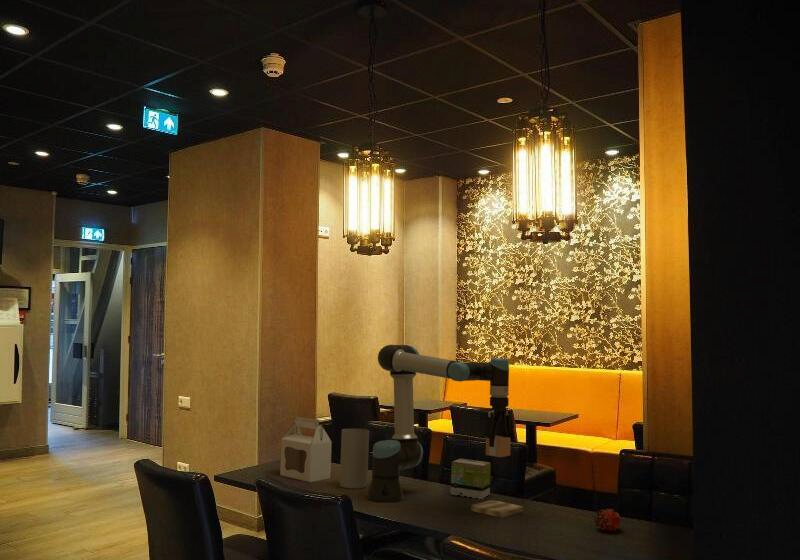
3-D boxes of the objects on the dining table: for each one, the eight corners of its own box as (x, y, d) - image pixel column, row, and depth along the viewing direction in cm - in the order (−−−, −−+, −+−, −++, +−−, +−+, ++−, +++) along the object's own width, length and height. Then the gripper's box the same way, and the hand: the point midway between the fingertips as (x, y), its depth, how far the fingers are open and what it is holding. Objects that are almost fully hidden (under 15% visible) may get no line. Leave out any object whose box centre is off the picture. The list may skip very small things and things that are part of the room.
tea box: (449, 495, 293) (450, 460, 294) (458, 491, 302) (459, 457, 303) (482, 500, 286) (483, 464, 287) (490, 495, 295) (491, 461, 296)
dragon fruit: (595, 537, 240) (614, 537, 247) (613, 527, 236) (632, 527, 243) (585, 514, 245) (603, 514, 252) (603, 504, 241) (621, 504, 248)
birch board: (470, 510, 267) (470, 505, 267) (492, 504, 278) (492, 499, 278) (502, 517, 257) (502, 512, 257) (523, 511, 268) (523, 506, 268)
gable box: (279, 475, 326) (282, 416, 329) (300, 471, 336) (303, 415, 339) (309, 482, 311) (312, 421, 314) (330, 478, 321) (333, 419, 324)
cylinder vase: (366, 489, 299) (368, 432, 302) (338, 488, 300) (340, 431, 302) (368, 483, 312) (369, 429, 314) (341, 482, 312) (343, 428, 315)
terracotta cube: (485, 454, 269) (486, 437, 270) (495, 453, 275) (496, 435, 275) (500, 457, 265) (500, 439, 265) (510, 455, 270) (510, 437, 270)
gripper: (492, 398, 262) (491, 458, 260) (520, 396, 276) (520, 453, 274) (476, 396, 267) (475, 455, 265) (505, 394, 282) (504, 450, 279)
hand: (498, 454), depth 270 cm, fingers closed on terracotta cube, 7 cm apart
